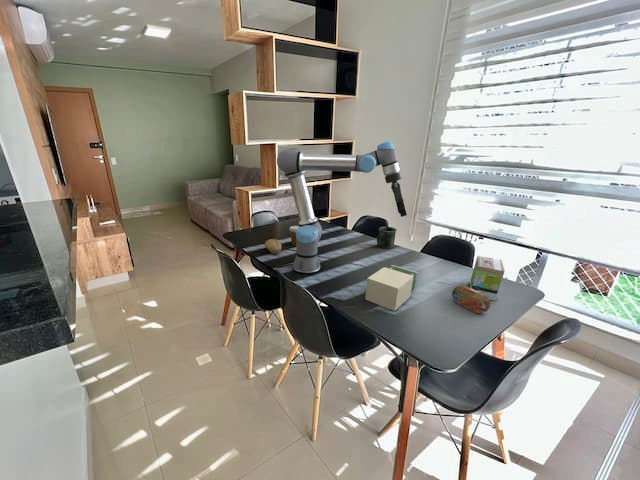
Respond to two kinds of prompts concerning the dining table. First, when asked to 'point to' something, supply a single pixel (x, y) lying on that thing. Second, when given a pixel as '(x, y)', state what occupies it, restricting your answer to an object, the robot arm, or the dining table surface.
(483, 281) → the tea box
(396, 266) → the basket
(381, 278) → the cream foam cube
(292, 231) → the disposable coffee cup
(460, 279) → the dining table surface
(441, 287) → the dining table surface
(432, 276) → the dining table surface
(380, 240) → the mug
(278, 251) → the bread roll
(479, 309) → the orange brown snack packet
